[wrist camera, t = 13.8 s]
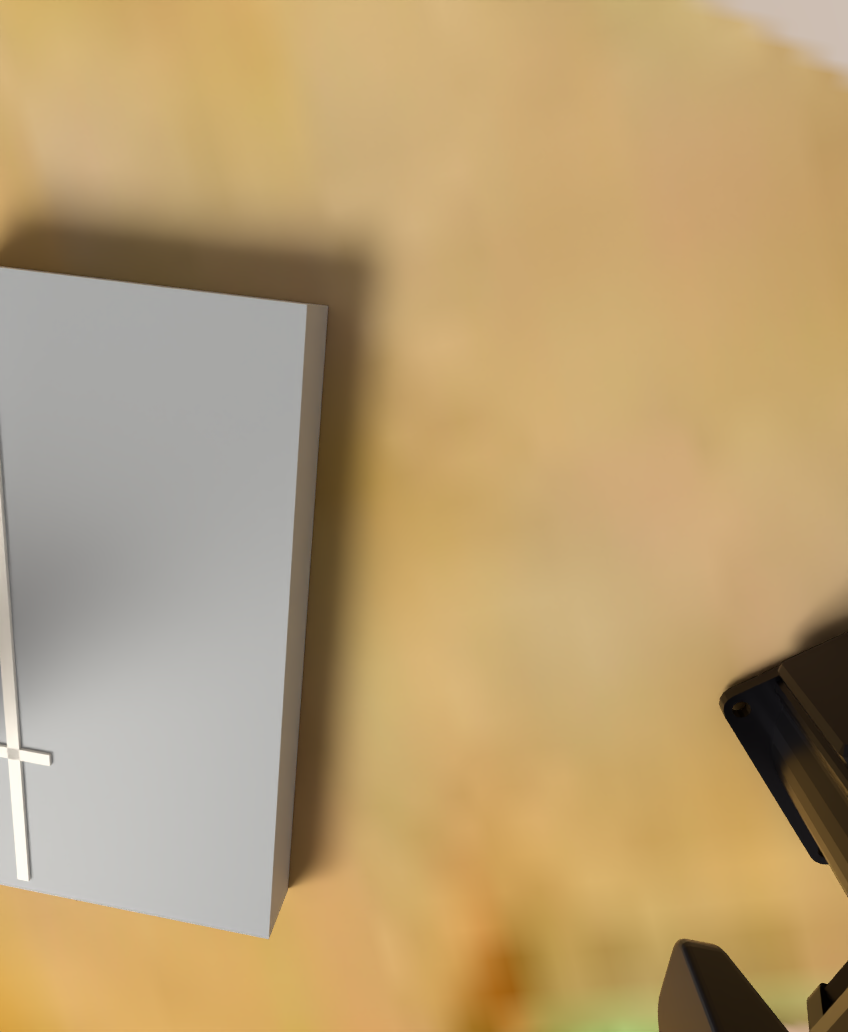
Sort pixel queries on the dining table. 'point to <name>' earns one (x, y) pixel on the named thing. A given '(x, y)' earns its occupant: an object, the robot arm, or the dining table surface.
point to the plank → (154, 591)
